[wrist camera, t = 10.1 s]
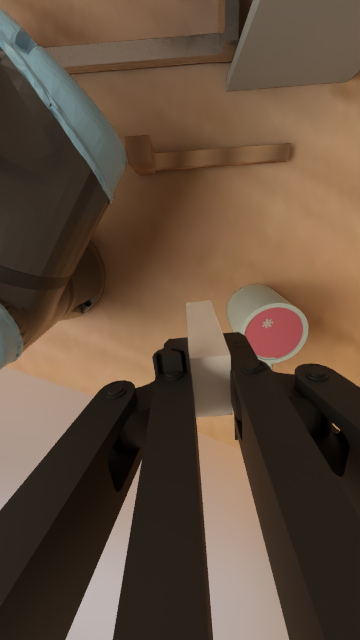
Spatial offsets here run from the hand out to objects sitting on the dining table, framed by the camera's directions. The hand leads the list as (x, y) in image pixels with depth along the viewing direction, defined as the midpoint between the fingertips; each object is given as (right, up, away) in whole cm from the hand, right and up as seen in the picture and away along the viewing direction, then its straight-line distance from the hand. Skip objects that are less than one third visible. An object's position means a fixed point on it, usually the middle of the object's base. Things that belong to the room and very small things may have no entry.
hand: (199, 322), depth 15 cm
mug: (+12, 0, +29) cm, 31 cm away
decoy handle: (+3, +22, +19) cm, 30 cm away
